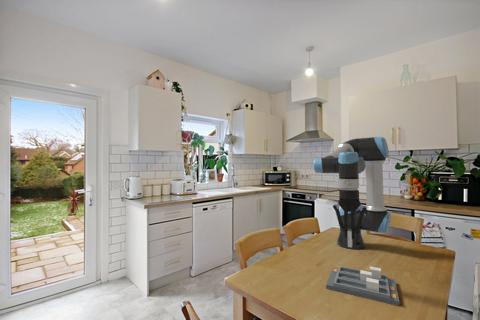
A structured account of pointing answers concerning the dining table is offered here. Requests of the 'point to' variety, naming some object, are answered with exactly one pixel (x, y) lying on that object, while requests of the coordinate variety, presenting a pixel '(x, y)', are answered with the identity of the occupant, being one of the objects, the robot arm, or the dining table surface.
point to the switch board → (362, 285)
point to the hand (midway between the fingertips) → (350, 246)
